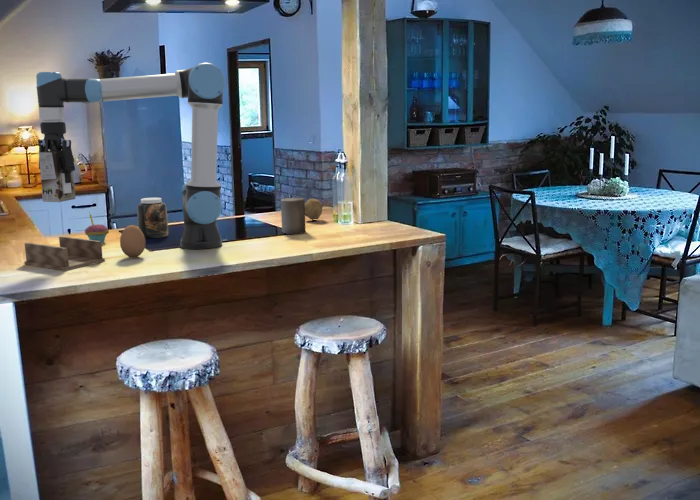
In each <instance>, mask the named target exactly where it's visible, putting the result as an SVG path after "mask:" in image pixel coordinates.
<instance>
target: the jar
mask: <svg viewBox="0 0 700 500" xmlns="http://www.w3.org/2000/svg"><path fill="white" fill-rule="evenodd" d="M167 210H168V209H167V205H166V203H165V202H163V201H162V197H144V198H141V199H140V203H138V204H137V206H136V213H137V214H136V215H137V227H138V228H139V229H140V230H141V231H142V233H143V234H144V237H145V239H157V238H158V239H161V238H166V237H168V236H169V224H168V211H167Z"/></svg>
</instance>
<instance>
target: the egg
mask: <svg viewBox="0 0 700 500" xmlns="http://www.w3.org/2000/svg"><path fill="white" fill-rule="evenodd" d="M119 245H120V246H119V247H120V249H121V251H122V252H123V254H124V255H125V256H127V257H129V258H130V259H131V258H132V259H133V258H134V259H135V258H138V257H139V256H141V255H142V254H143V252H144V251H145V248H146V238H145V237H144V234H143V233H142V231H141V230H140V229H139V228H138V225H134V224H131V225H128V226H126V227H125V228H124V229H123V230H122V232H121V235H120V239H119Z"/></svg>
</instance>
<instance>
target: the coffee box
mask: <svg viewBox="0 0 700 500" xmlns="http://www.w3.org/2000/svg"><path fill="white" fill-rule="evenodd" d="M61 153H62V152H56V151H50V152H39V151H38V161H39V160H40V169H39V170H40V182H41V183H40V185H41V194H42V195H41V196H42V202H43V203H45V202H46V203H61V202H67V201H72V200H76V190H75V189H76V187H75V177H74V176H75V174H74V171H72V172H71V192H72V193H65V194H64V193H63V188H62V177H61V172H62V168H61V162H60V155H61Z"/></svg>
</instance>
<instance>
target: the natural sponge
mask: <svg viewBox="0 0 700 500" xmlns="http://www.w3.org/2000/svg"><path fill="white" fill-rule="evenodd" d="M322 214H323V203H322V202H321V201H320V200H319V199H316V198H310V199H308V200H306V201H305V217H307V218H308V219H310V220H311V219H317V220H319V218H320V217H321V215H322Z"/></svg>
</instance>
